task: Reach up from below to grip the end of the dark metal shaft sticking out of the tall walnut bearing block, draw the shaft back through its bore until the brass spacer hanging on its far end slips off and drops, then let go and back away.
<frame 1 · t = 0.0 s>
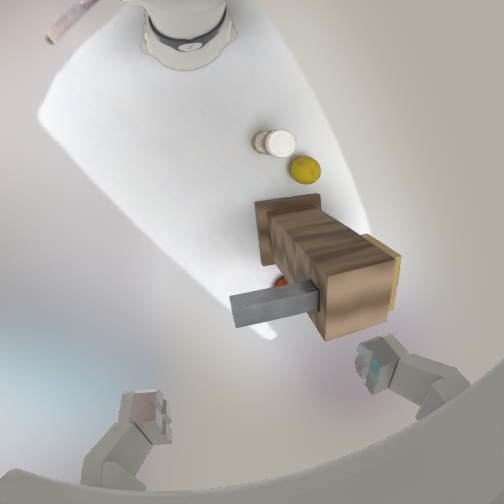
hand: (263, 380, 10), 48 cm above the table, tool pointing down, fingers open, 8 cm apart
sprinkles bottle: (262, 142, 52), on the table
lemon: (297, 167, 56), on the table
spacer: (362, 259, 44), point 20 cm above the table, touching shaft
bearing block: (289, 228, 61), on the table
shaft: (317, 286, 38), point 24 cm above the table, touching bearing block, spacer
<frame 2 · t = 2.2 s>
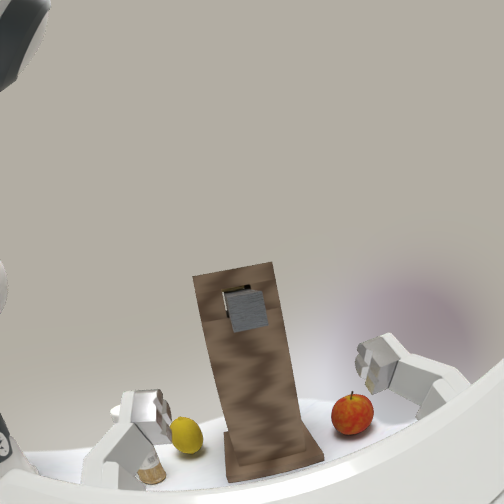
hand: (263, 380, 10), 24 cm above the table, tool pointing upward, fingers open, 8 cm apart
sprinkles bottle: (153, 478, 30), on the table
lemon: (192, 454, 38), on the table
fruit: (353, 431, 36), on the table
bearing block: (269, 450, 36), on the table
shaft: (240, 314, 35), point 24 cm above the table, touching bearing block, spacer
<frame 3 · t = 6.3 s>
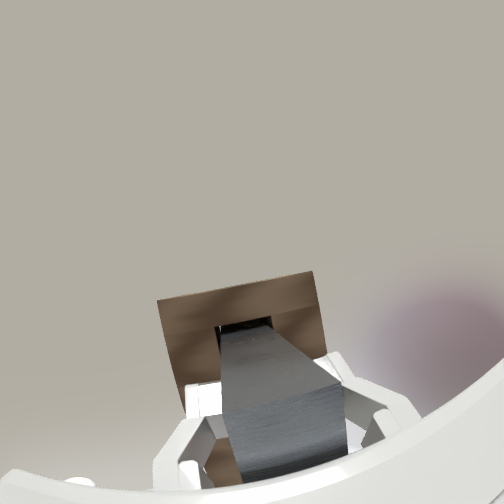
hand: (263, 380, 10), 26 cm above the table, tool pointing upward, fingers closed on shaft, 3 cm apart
shaft: (251, 369, 18), point 24 cm above the table, touching bearing block, gripper, spacer
when the fingers open (26 cm above the table, at t = 10.4 s): shaft stays where it is, resting on bearing block.
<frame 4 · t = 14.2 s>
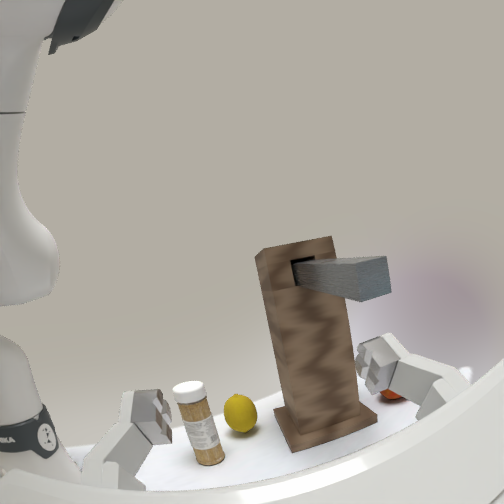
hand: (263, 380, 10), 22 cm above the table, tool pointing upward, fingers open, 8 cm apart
sprinkles bottle: (211, 459, 33), on the table
lemon: (245, 433, 41), on the table
fruit: (396, 397, 40), on the table
bearing block: (321, 420, 40), on the table
shaft: (321, 286, 32), point 24 cm above the table, touching bearing block
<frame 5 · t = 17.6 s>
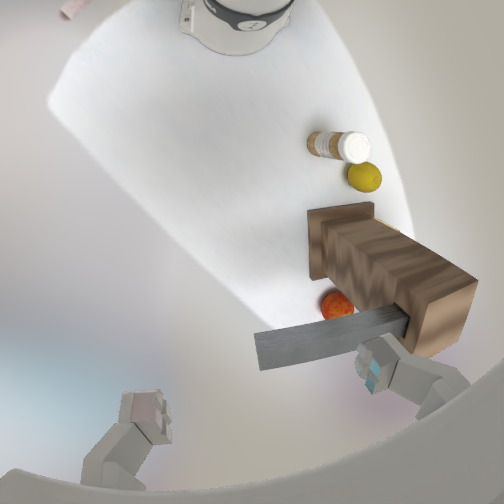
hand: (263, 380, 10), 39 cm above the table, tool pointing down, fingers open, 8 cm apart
sprinkles bottle: (317, 143, 46), on the table
lemon: (352, 173, 49), on the table
fruit: (330, 299, 59), on the table
bearing block: (340, 239, 54), on the table
shaft: (356, 322, 31), point 24 cm above the table, touching bearing block
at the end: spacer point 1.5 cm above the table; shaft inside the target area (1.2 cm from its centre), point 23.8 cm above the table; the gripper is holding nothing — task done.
